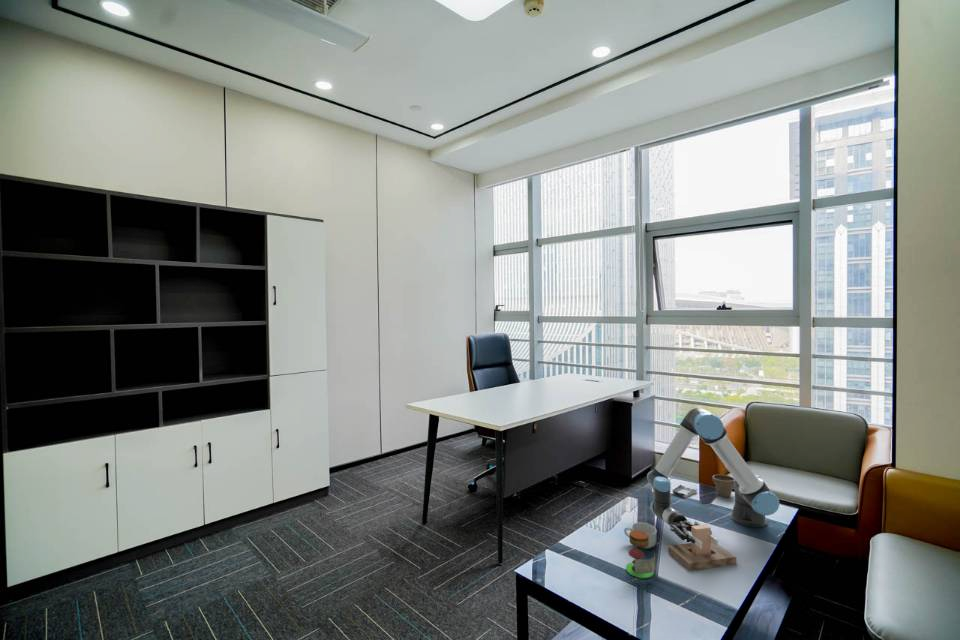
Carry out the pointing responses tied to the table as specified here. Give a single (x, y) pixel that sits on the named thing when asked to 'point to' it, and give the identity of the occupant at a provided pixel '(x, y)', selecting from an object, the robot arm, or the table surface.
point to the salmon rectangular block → (701, 539)
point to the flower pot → (723, 484)
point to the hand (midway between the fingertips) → (709, 544)
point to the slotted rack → (701, 557)
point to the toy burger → (640, 556)
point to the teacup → (647, 529)
